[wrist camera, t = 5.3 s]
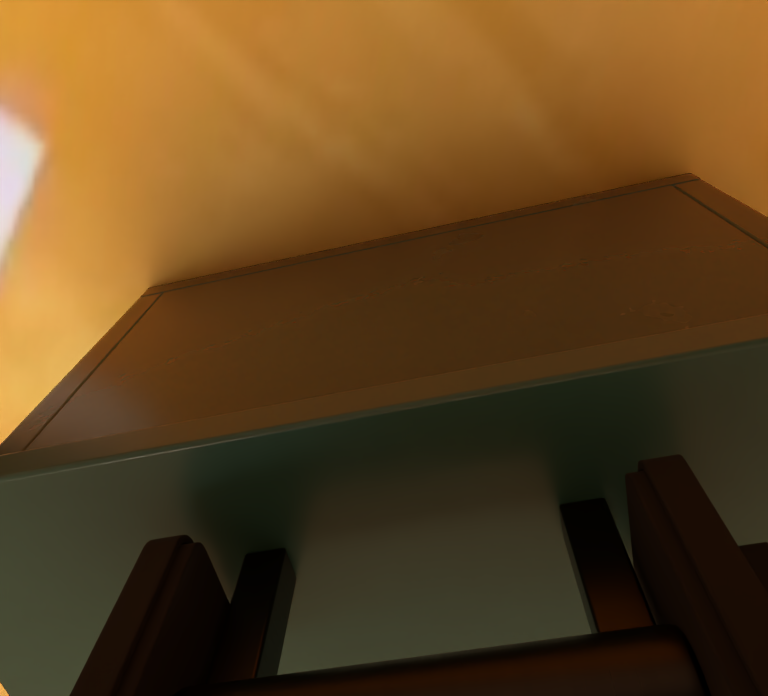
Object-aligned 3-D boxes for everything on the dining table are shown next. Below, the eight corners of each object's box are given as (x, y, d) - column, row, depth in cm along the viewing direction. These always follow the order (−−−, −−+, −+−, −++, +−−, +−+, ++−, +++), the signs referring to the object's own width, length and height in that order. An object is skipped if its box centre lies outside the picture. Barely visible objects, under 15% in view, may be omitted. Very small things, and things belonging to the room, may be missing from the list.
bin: (148, 287, 22) (-65, 510, 12) (690, 172, 20) (969, 329, 10) (273, 600, 27) (198, 923, 18) (704, 537, 25) (888, 864, 16)
